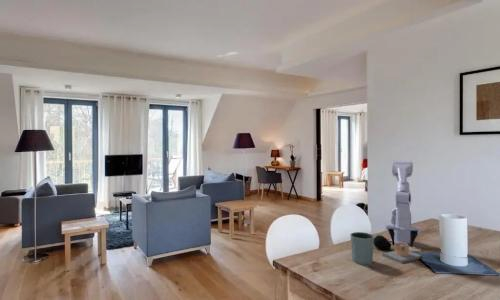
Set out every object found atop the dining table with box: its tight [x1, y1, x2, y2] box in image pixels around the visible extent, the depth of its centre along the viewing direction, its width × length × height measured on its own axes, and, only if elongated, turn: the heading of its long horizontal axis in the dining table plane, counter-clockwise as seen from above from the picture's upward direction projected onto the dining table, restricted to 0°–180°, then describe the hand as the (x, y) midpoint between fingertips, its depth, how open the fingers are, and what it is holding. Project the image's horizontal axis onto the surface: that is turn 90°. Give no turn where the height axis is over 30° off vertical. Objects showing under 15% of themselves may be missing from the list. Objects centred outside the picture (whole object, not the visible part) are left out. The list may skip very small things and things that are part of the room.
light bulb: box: [373, 234, 396, 251], centre depth 160 cm, size 7×7×12 cm
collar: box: [394, 242, 410, 257], centre depth 150 cm, size 6×5×5 cm
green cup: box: [349, 231, 375, 266], centre depth 145 cm, size 10×10×12 cm
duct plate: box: [382, 245, 422, 264], centre depth 150 cm, size 14×10×5 cm
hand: (402, 245), depth 150 cm, fingers open, 7 cm apart
